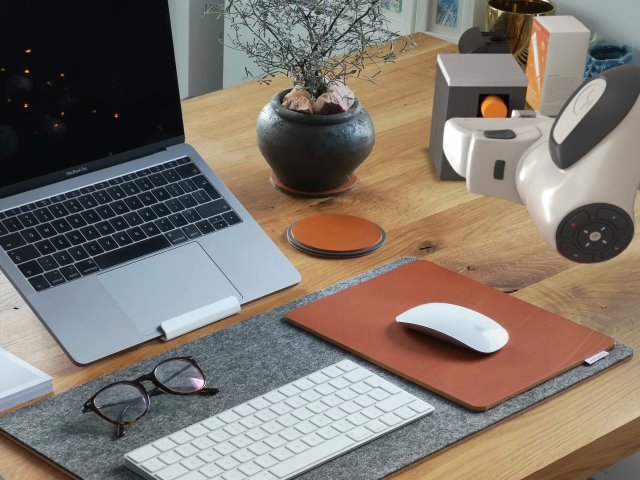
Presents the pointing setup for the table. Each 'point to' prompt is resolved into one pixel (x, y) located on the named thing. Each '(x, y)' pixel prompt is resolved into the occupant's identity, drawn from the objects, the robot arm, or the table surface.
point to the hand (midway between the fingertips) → (524, 116)
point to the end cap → (482, 42)
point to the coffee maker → (471, 95)
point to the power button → (493, 107)
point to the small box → (555, 61)
